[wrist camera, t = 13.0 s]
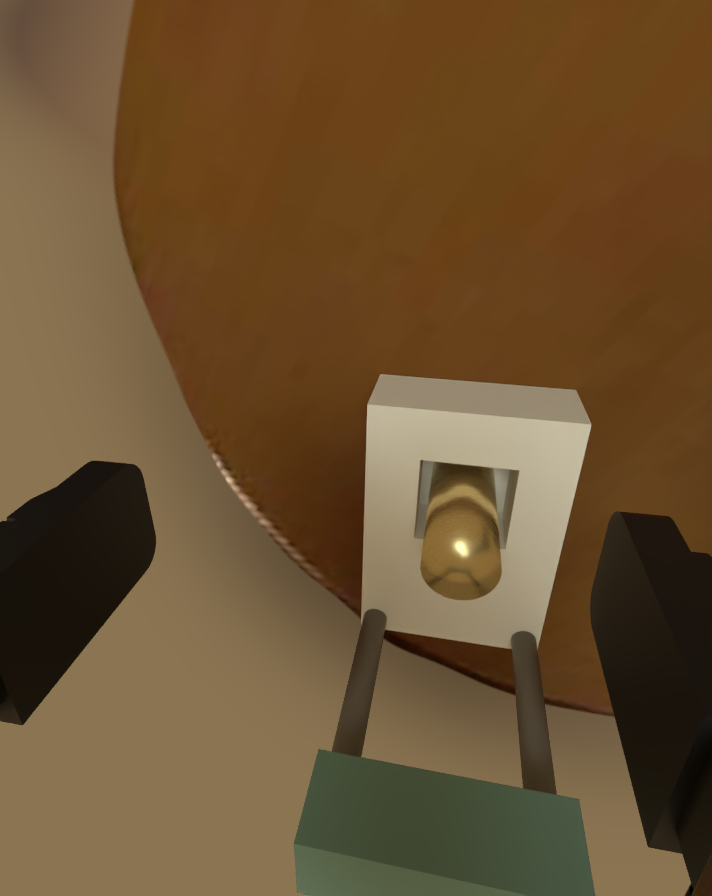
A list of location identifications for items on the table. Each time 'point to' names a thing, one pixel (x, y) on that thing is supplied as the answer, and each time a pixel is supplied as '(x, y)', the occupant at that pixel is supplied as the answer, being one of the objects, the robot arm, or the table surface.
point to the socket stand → (475, 621)
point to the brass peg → (461, 532)
